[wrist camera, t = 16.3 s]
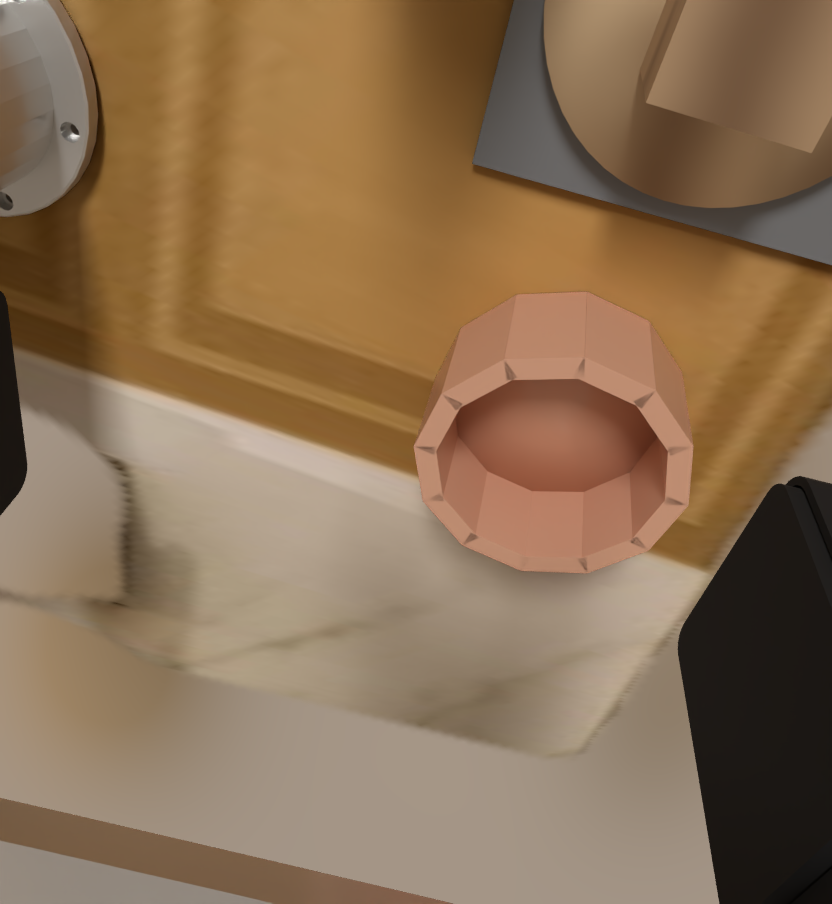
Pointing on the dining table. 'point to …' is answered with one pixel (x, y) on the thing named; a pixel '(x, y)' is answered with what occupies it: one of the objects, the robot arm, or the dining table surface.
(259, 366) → the dining table surface
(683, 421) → the bowl
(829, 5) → the lid
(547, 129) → the mat
